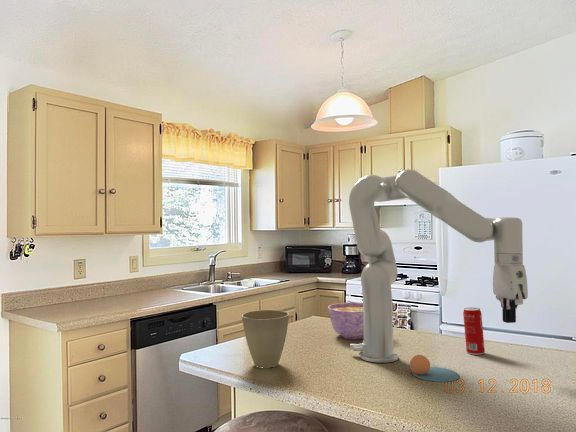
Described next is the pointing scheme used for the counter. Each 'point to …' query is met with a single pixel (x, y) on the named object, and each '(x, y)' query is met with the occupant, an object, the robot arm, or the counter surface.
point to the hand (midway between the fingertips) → (509, 322)
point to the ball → (420, 365)
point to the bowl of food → (347, 319)
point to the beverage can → (473, 331)
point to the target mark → (439, 375)
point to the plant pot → (265, 335)
